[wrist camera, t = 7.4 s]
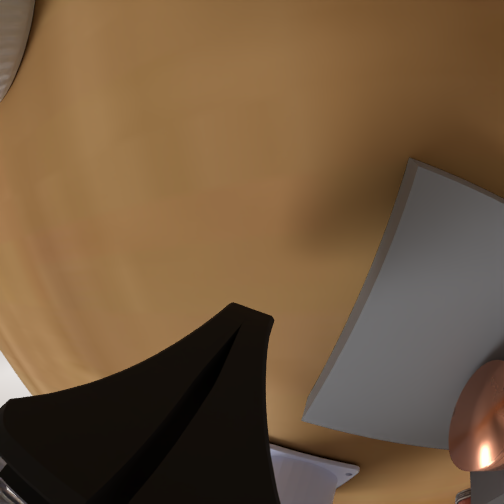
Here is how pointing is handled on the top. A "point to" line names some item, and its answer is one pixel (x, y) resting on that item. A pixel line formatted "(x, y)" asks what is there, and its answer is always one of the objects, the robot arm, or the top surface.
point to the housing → (421, 320)
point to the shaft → (479, 421)
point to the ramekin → (13, 38)
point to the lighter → (463, 497)
